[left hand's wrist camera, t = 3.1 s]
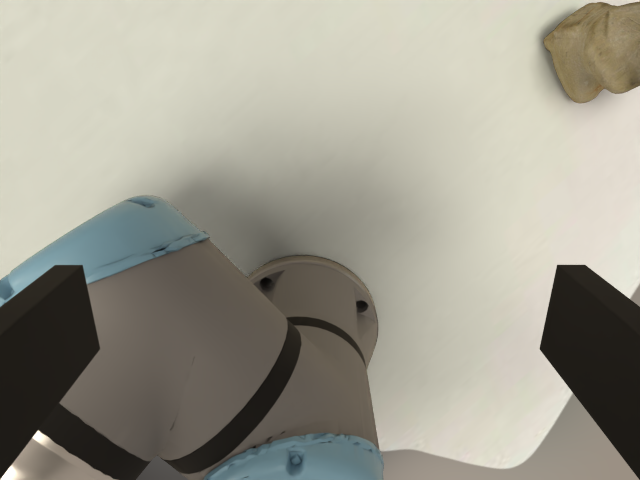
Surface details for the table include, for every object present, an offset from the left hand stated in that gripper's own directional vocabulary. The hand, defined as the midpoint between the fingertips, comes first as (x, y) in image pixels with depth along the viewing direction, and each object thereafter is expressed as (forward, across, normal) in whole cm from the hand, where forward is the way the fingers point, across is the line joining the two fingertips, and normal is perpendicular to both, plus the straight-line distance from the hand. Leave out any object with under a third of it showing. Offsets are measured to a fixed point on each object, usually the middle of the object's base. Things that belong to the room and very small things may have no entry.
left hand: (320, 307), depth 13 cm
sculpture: (+30, -21, -7) cm, 37 cm away
